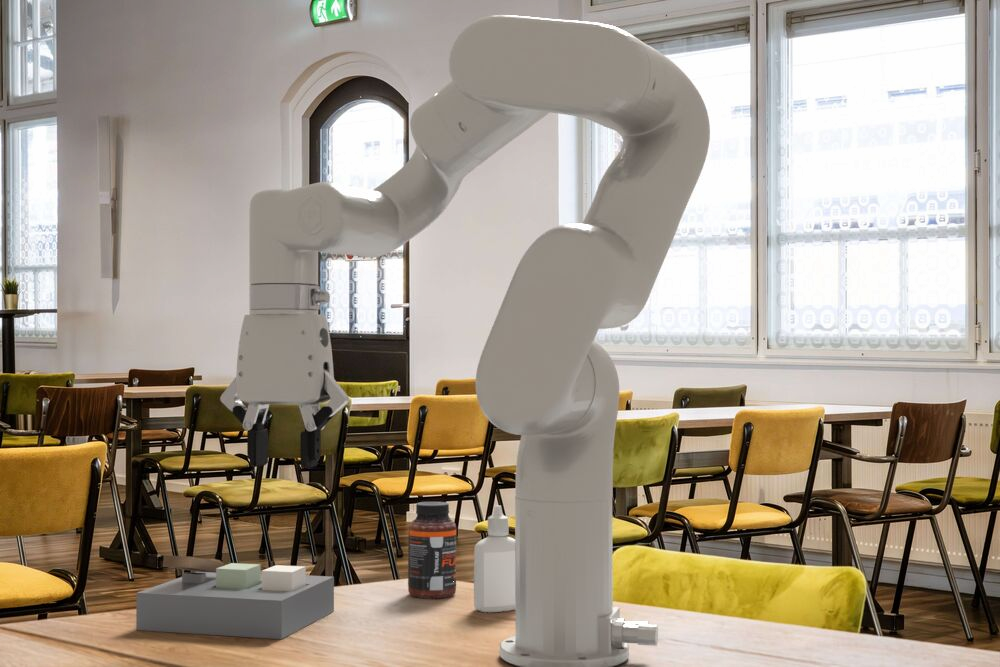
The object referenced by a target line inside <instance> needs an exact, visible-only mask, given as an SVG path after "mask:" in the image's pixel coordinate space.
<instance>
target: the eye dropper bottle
mask: <svg viewBox="0 0 1000 667" xmlns="http://www.w3.org/2000/svg"><path fill="white" fill-rule="evenodd" d="M487 535H488V536H487V537H485V538H483V539H481V540H479V541H477V543H476V544H475V545H474V551H473V607H474V609H475V610H476V611H480V612H482V613H487V612H488V613H501V612H503V611H504V612H509V611H515V537H514V538H513V537H511V536H508V535H510V533H509V517H508V516H506V515H504V513H503V508H502V505H496V504H495V506H494V510H493V513H492V514H491V515H489V516H488V517H487Z"/></svg>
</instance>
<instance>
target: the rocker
mask: <svg viewBox="0 0 1000 667" xmlns="http://www.w3.org/2000/svg"><path fill="white" fill-rule="evenodd" d="M224 563H225V562H223V561H221V560H220V559H215V558H203V557H202V558H201V557H196V556H185V555H184V556H183V555H168V554H167V555H163V561H162V567H163V568H164V567H165V568H169V569H170V568H172V569H177V570H184V571H189V572H212V573H216V568H219V567H222V566H225V564H224Z"/></svg>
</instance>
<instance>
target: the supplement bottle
mask: <svg viewBox="0 0 1000 667" xmlns="http://www.w3.org/2000/svg"><path fill="white" fill-rule="evenodd" d="M449 505H450V504H449V503H448V502H447V501H445V502H444V501H421V502H417V503H416V506H415V507H416V508H415V514H416V515H417V516H416V517H415V519H413V520H412V521H410V522H409V524H408V530H407V531H408V537H407V538H408V540H407V545H408V546H407V548H408V550H407V552H408V553H407V555H408V556H407V557H408V559H407V561H408V562H407V563H408V564H407V568H408V569H407V571H408V572H407V586H408V588H407V589H408V594H409V595H410V596H412V597H414V598H419V599H432V600H433V599H436V600H437V599H445V598H449V597H451V596H454V595H455V594H456V592H457V525H456V523H455V521H453V520H452V519H451V518H450V516H449V514H450V507H449ZM453 581H454V582H453Z"/></svg>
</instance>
